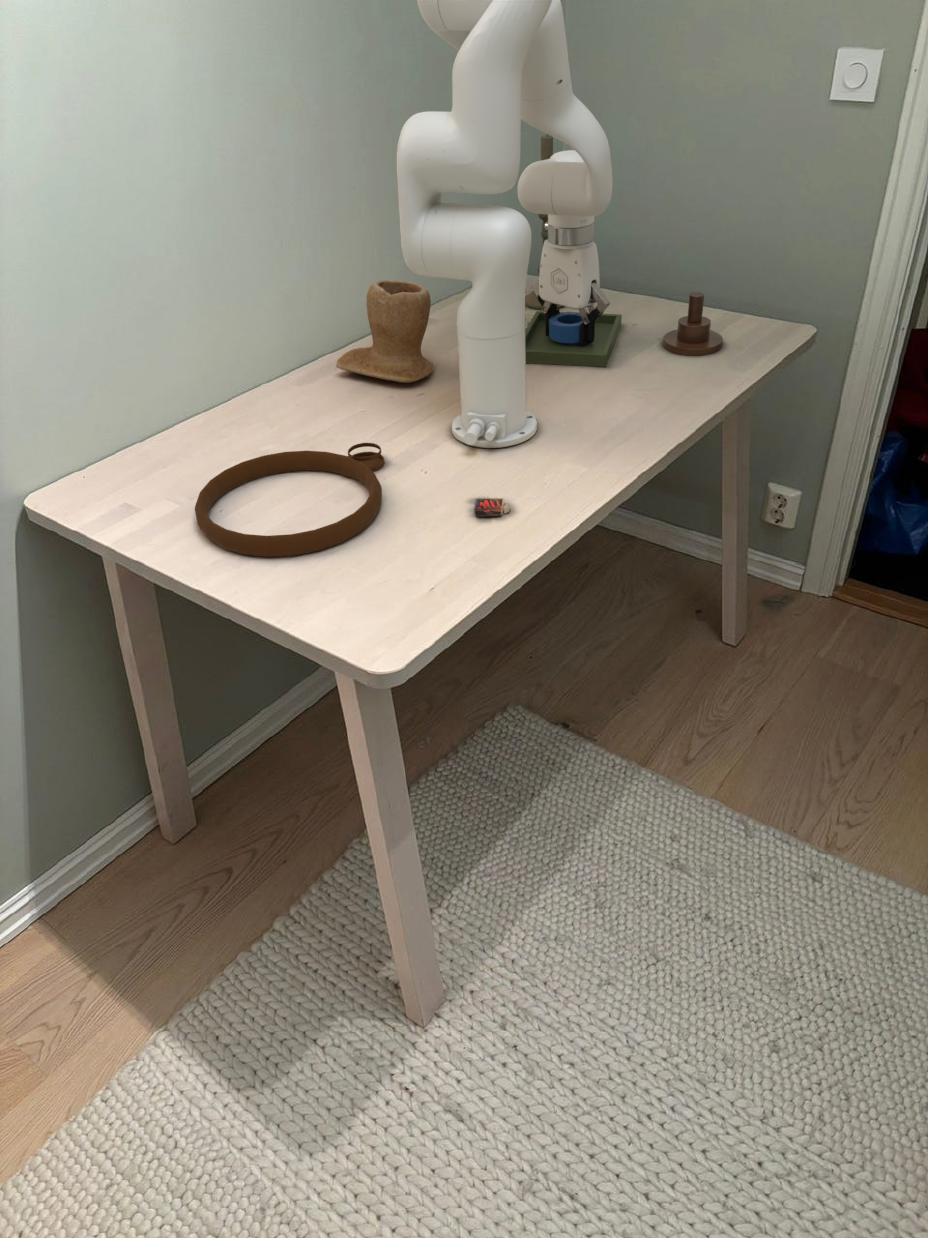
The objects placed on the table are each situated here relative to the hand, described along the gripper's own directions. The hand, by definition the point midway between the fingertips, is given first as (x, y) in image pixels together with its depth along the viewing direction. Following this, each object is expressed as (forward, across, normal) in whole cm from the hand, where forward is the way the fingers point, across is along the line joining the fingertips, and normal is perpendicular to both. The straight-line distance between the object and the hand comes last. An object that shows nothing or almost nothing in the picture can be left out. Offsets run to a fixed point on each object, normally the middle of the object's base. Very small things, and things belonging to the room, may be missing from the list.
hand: (569, 338), depth 175 cm
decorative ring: (+1, +9, -66) cm, 66 cm away
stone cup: (+1, -15, -28) cm, 32 cm away
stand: (+1, +17, +12) cm, 21 cm away
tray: (+1, 0, 0) cm, 1 cm away
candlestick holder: (+1, -17, +14) cm, 22 cm away
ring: (0, 0, 0) cm, 0 cm away
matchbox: (+1, +30, -51) cm, 59 cm away
